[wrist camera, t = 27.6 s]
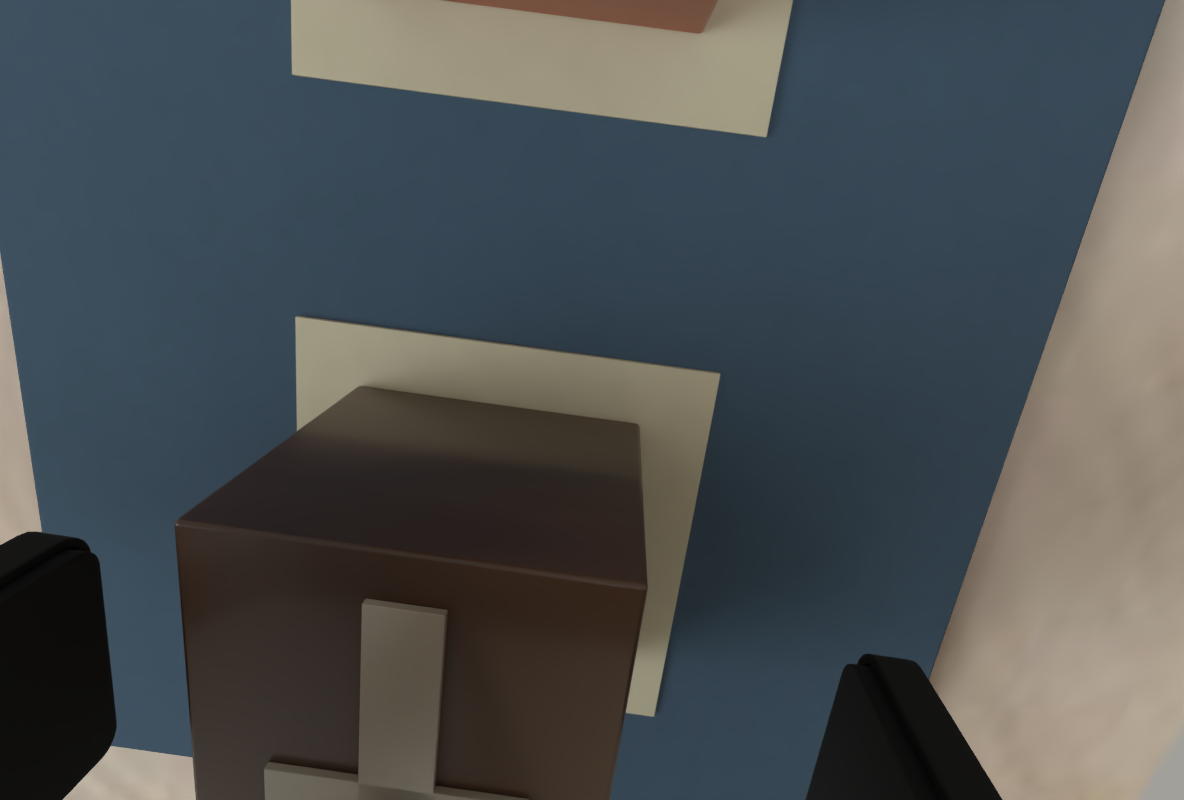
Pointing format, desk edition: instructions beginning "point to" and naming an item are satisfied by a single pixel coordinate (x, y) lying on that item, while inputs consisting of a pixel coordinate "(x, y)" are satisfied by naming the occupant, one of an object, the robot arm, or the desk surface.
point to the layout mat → (566, 296)
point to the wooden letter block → (417, 606)
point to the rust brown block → (619, 11)
